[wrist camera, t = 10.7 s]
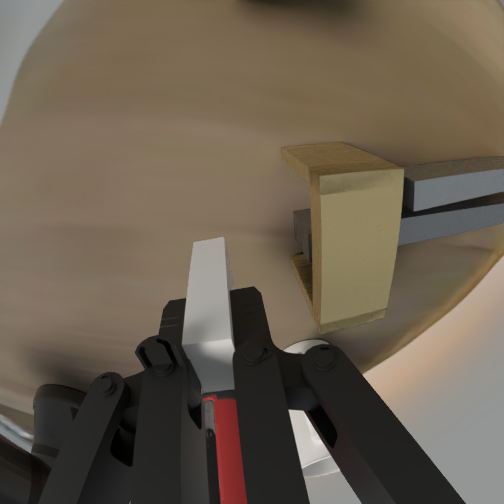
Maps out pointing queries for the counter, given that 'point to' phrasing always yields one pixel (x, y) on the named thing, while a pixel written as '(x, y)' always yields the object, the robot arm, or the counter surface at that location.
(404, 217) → the base
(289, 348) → the mug
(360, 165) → the yellow wooden arch
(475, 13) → the counter surface
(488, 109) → the counter surface
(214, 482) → the speaker
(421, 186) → the tong jaw
